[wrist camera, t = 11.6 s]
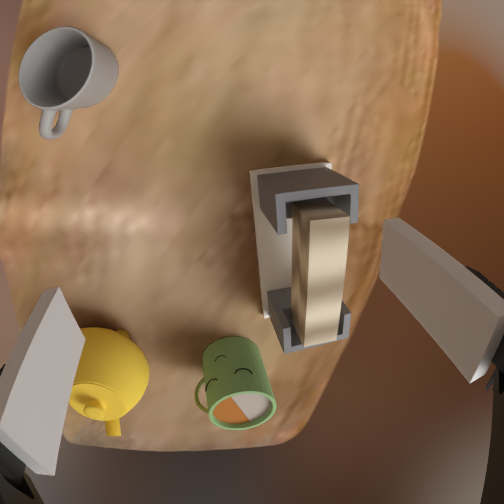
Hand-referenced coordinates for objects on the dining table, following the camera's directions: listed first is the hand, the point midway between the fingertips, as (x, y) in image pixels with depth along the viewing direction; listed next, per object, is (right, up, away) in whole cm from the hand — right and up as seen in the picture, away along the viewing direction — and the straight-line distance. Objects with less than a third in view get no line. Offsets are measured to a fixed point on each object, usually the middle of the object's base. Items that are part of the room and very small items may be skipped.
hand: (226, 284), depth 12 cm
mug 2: (-4, -17, +42) cm, 46 cm away
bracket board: (+7, +2, +35) cm, 35 cm away
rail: (+8, 0, +30) cm, 31 cm away
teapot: (-24, -17, +38) cm, 48 cm away
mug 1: (-20, +21, +20) cm, 35 cm away
